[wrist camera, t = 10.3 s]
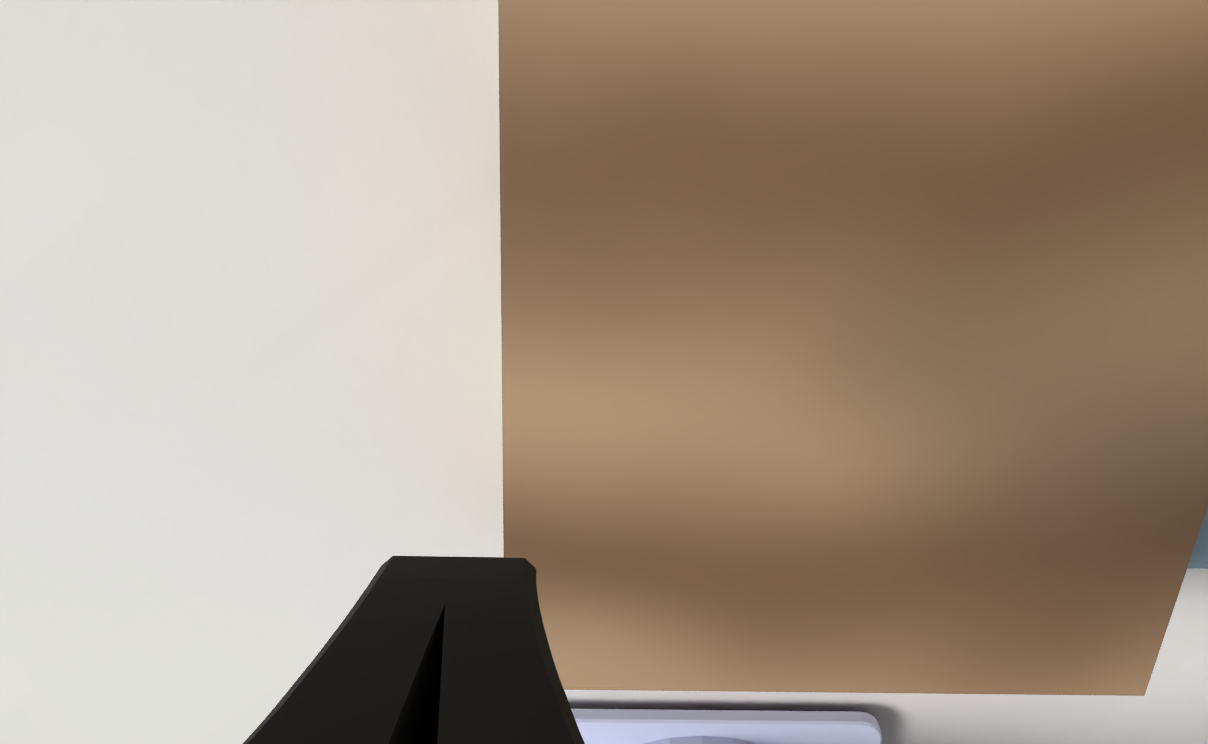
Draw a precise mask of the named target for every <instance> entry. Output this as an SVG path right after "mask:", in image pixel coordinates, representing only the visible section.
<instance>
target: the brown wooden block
mask: <svg viewBox="0 0 1208 744" xmlns="http://www.w3.org/2000/svg"><path fill="white" fill-rule="evenodd" d="M498 3H499V107H500V211H501V315H502V419H503V523H504V558H525V559H526V560H527V561H529V562H530V563H531V564H532V565H533V566H534V567H535V568H536V585H537V594H538V601H539V607H540V612H541V616H542V621H543V625H544V629H545V632H546V636H547V640H548V643H549V647H550V650H551V654H552V657H553V660H554V663H555V666H556V669H557V672H558V675H559V678H560V681H561V684H562V686H563V689H567V690H661V691H756V692H850V693H945V694H1040V695H1134V696H1144V695H1145V692H1146V689H1147V686H1148V683H1149V680H1150V677H1151V674H1152V671H1153V668H1154V665H1155V662H1156V659H1157V656H1158V653H1159V650H1160V647H1161V644H1162V641H1163V638H1164V635H1165V632H1166V629H1167V626H1168V623H1169V620H1170V617H1171V614H1172V611H1173V608H1174V605H1175V602H1176V599H1177V596H1178V593H1179V590H1180V587H1181V584H1182V582H1183V579H1184V576H1185V573H1186V570H1187V567H1188V564H1189V561H1190V558H1191V555H1192V552H1193V549H1194V546H1195V543H1196V540H1197V537H1198V534H1199V531H1200V528H1201V525H1202V522H1203V519H1204V516H1205V513H1206V510H1207V507H1208V0H498Z"/></svg>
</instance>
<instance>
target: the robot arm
mask: <svg viewBox="0 0 1208 744" xmlns="http://www.w3.org/2000/svg"><path fill="white" fill-rule="evenodd" d="M881 742H882V732H881V729H880V726H879V723H878V721H877V720H876V718H875V717H874V716H872V715H871V714H869V713H865V712H852V711H752V710H652V709H571V707H570V705H569V702H568V700H567V697H566V694H565V692H564V689H563V686H562V684H561V681H560V678H559V675H558V672H557V669H556V666H555V663H554V660H553V657H552V654H551V650H550V647H549V643H548V640H547V636H546V632H545V629H544V625H543V621H542V616H541V612H540V607H539V601H538V594H537V585H536V568H535V567H534V566H533V565H532V564H531V563H530V562H529V561H527V560H526V559H525V558H496V557H428V556H392V557H391V558H390V559H389V560H388V561H387V562H385V563H384V564H383V565H382V566H381V567H380V569H379V570H378V572H377V573H376V575H375V576H374V578H373V579H372V581H371V582H370V584H369V585H368V587H367V588H366V590H365V591H364V592H363V594H362V595H361V597H360V598H359V600H358V601H357V602H356V604H355V605H354V607H353V608H352V609H351V611H350V612H349V614H348V615H347V616H346V618H345V619H344V620H343V622H342V623H341V625H340V626H339V627H338V629H337V630H336V631H335V632H334V634H333V635H332V636H331V638H330V639H329V640H328V642H327V643H326V644H325V646H324V647H323V648H322V650H321V651H320V652H319V654H318V655H317V656H316V657H315V659H314V660H313V661H312V662H311V664H310V665H309V666H308V667H307V668H306V670H305V671H304V672H303V673H302V675H301V676H300V677H299V678H298V680H297V681H296V682H295V683H294V684H293V686H292V687H291V688H290V689H289V691H288V692H287V693H286V694H285V696H284V697H283V698H282V699H281V700H280V702H279V703H278V704H277V705H276V707H275V708H274V709H273V710H272V711H271V713H270V714H269V715H268V716H267V717H266V718H265V720H264V721H263V722H262V723H261V724H260V725H259V727H258V728H257V729H256V730H255V731H254V732H253V733H252V734H251V735H250V736H249V738H248V739H247V740H246V741H245V742H244V743H243V744H881Z"/></svg>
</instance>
